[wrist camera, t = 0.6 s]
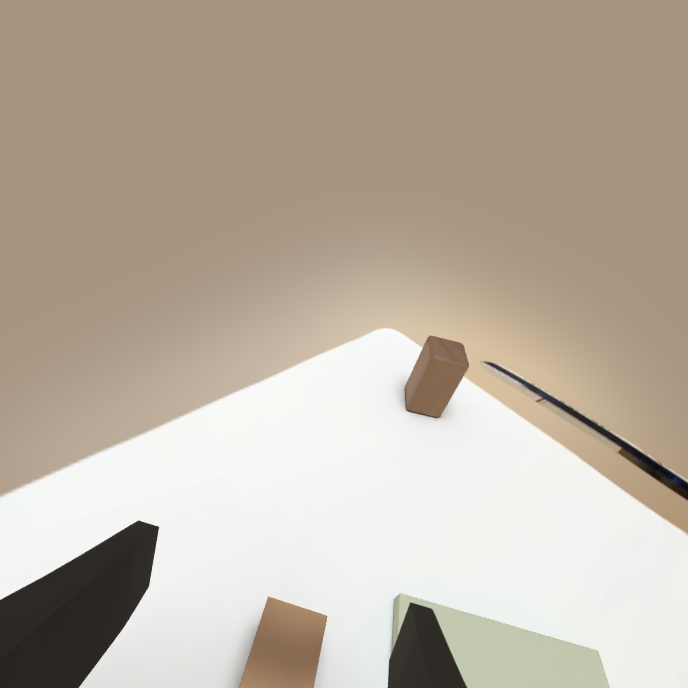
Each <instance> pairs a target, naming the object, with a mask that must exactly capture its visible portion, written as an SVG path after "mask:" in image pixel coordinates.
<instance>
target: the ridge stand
mask: <svg viewBox="0 0 688 688" xmlns="http://www.w3.org/2000/svg"><path fill="white" fill-rule="evenodd" d="M410 602H411V603H415V604H418V605H421V606H425V607H428V608H431V609H433V611H434V613H435V615H436V618H437V620H438V622H439V625H440V627H441V630H442V632H443V634H444V637H445V639H446V641H447V644H448V646H449V648H450V651H451V653H452V655H453V657H454V660H455V662H456V664H457V666H458V669H459V671H460V673H461V675H462V677H463V680H464V682H465V684H466V686H467V688H609V684H608V681H607V678H606V675H605V671H604V668H603V665H602V662H601V659H600V655H599V652H598V651H597V650H594V649H590V648H587V647H583V646H580V645H576V644H573V643H569V642H566V641H563V640H559V639H556V638H552V637H549V636H545V635H542V634H538V633H535V632H532V631H528V630H525V629H521V628H518V627H514V626H511V625H508V624H504V623H501V622H497V621H494V620H490V619H487V618H483V617H480V616H477V615H473V614H470V613H466V612H463V611H459V610H456V609H453V608H449V607H446V606H442V605H439V604H435V603H432V602H428V601H425V600H422V599H418V598H415V597H411V596H408V595H404V594H401V593H400V594H399V595H398V596H397V597H396V598H395V599H394V619H393V638H392V651H393V648H394V646H395V643H396V640H397V637H398V635H399V632H400V629H401V626H402V623H403V621H404V618H405V615H406V612H407V609H408V607H409V604H410Z"/></svg>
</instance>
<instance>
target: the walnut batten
mask: <svg viewBox="0 0 688 688" xmlns="http://www.w3.org/2000/svg"><path fill="white" fill-rule="evenodd" d="M326 621H327V616H326V615H323V614H320V613H317V612H314V611H311V610H308V609H305V608H302V607H299V606H295V605H292V604H289V603H286V602H283V601H280V600H277V599H274V598H271V597H268V599H267V602H266V605H265V608H264V611H263V614H262V617H261V620H260V623H259V627H258V630H257V633H256V636H255V639H254V642H253V645H252V648H251V651H250V655H249V658H248V661H247V664H246V667H245V670H244V673H243V676H242V679H241V683H240V686H239V688H313V686H314V681H315V676H316V671H317V666H318V661H319V656H320V651H321V646H322V641H323V636H324V631H325V626H326Z"/></svg>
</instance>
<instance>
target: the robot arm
mask: <svg viewBox="0 0 688 688" xmlns="http://www.w3.org/2000/svg"><path fill="white" fill-rule="evenodd" d="M158 530H159V527H158V526H155V525H151V524H148V523H145V522H141V521H137V522H135V523H133V524H132V525H130V526H128V527H127V528H125V529H123V530H122V531H120V532H118V533H117V534H115V535H113V536H112V537H110V538H108V539H107V540H105V541H104V542H102V543H100V544H99V545H97V546H95V547H94V548H92V549H90V550H89V551H87V552H85V553H84V554H82V555H80V556H79V557H77V558H75V559H73V560H72V561H70V562H68V563H66V564H65V565H63V566H61V567H60V568H58V569H56V570H54V571H53V572H51V573H49V574H47V575H46V576H44V577H42V578H40V579H38V580H36V581H35V582H33V583H31V584H29V585H27V586H25V587H23V588H22V589H20V590H18V591H16V592H14V593H12V594H10V595H9V596H7V597H5V598H3V599H1V600H0V688H79V686H80V685H81V684H82V682H83V681H84V680H85V679H86V677H87V676H88V675H89V673H90V672H91V671H92V669H93V668H94V667H95V665H96V664H97V663H98V661H99V660H100V659H101V657H102V656H103V655H104V653H105V652H106V651H107V649H108V648H109V647H110V645H111V644H112V643H113V641H114V640H115V639H116V637H117V636H118V634H119V633H120V632H121V630H122V629H123V628H124V626H125V625H126V623H127V621H128V620H129V618H130V617H131V615H132V613H133V612H134V610H135V609H136V607H137V605H138V604H139V602H140V600H141V599H142V597H143V595H144V594H145V592H146V590H147V589H148V587H149V583H150V577H151V571H152V565H153V559H154V553H155V547H156V541H157V536H158ZM388 688H467V686H466V684H465V682H464V680H463V677H462V675H461V673H460V671H459V669H458V666H457V664H456V662H455V660H454V657H453V655H452V653H451V651H450V648H449V646H448V644H447V641H446V639H445V637H444V634H443V632H442V630H441V627H440V625H439V622H438V620H437V618H436V615H435V613H434V611H433V609H431V608H428V607H425V606H421V605H418V604H415V603H411V602H410V604H409V607H408V609H407V612H406V615H405V618H404V621H403V623H402V626H401V629H400V632H399V635H398V637H397V640H396V643H395V646H394V648H393V651H392V654H391V657H390V660H389V677H388Z"/></svg>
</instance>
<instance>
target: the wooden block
mask: <svg viewBox="0 0 688 688" xmlns="http://www.w3.org/2000/svg"><path fill="white" fill-rule="evenodd" d="M468 367H469V363H468V360H467V356H466V353H465V349H464V345H463V344H461V343H459V342H455V341H451V340H447V339H442V338H439V337H435V336H429V337H428V338H427V340H426V343H425V345H424V347H423V349H422V351H421V353H420V355H419V358H418V360H417V362H416V364H415V366H414V369H413V371H412V373H411V375H410V377H409V379H408V382H407V384H406V386H405V390H406V407H407V410H409V411H412V412H417V413H421V414H425V415H430V416H434V417H440V416H441V414H442V412H443V411H444V409H445V407H446V406H447V404H448V402H449V400H450V399H451V397H452V395H453V393H454V392H455V390H456V388H457V387H458V385H459V383H460V381H461V380H462V378H463V376H464V374H465V373H466V371H467V369H468Z"/></svg>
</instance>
